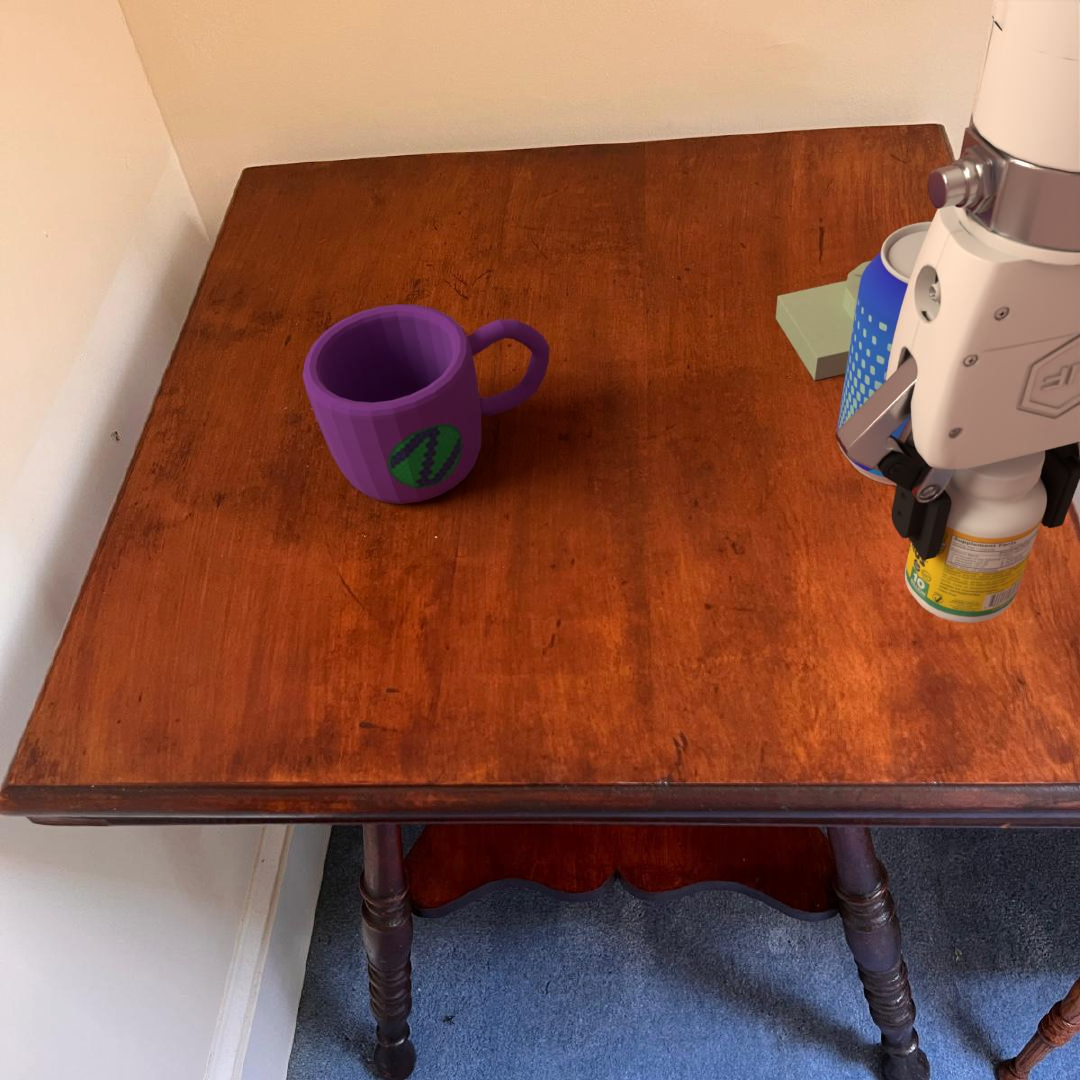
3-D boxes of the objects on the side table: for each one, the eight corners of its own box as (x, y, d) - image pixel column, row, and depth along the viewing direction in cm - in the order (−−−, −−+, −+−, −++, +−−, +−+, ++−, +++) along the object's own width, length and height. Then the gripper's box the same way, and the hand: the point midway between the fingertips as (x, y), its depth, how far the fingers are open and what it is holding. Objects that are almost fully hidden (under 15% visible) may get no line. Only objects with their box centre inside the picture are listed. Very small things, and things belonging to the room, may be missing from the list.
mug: (367, 540, 71) (330, 435, 64) (318, 442, 78) (279, 337, 71) (589, 447, 75) (580, 338, 68) (524, 362, 82) (508, 254, 75)
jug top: (905, 289, 83) (914, 246, 80) (953, 349, 78) (964, 305, 75) (775, 318, 83) (778, 276, 80) (814, 381, 77) (819, 338, 74)
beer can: (981, 483, 69) (1044, 282, 57) (857, 504, 69) (895, 307, 57) (932, 401, 75) (981, 202, 63) (818, 420, 75) (845, 225, 62)
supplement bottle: (1013, 635, 50) (1063, 499, 43) (898, 616, 52) (928, 482, 45) (1016, 553, 53) (1063, 414, 46) (907, 537, 55) (937, 400, 48)
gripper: (888, 284, 33) (836, 626, 46) (1388, 165, 34) (1194, 535, 47) (798, 172, 38) (774, 510, 51) (1235, 71, 39) (1100, 429, 52)
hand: (977, 519), depth 49 cm, fingers closed on supplement bottle, 5 cm apart
